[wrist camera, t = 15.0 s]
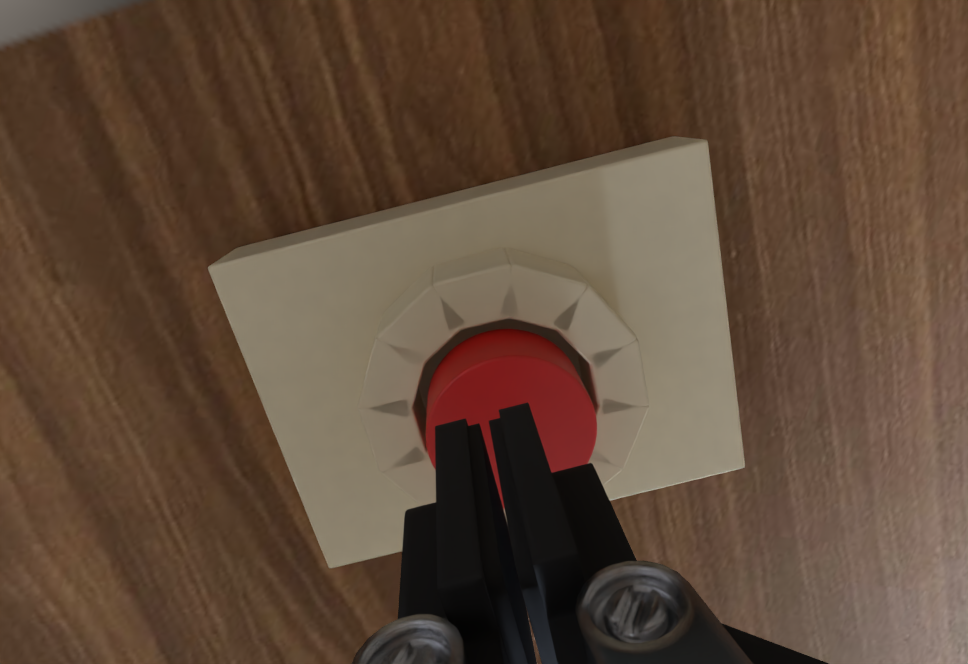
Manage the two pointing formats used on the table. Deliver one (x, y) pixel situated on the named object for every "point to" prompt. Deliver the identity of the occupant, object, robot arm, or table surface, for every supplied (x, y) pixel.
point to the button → (514, 394)
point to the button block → (489, 306)
